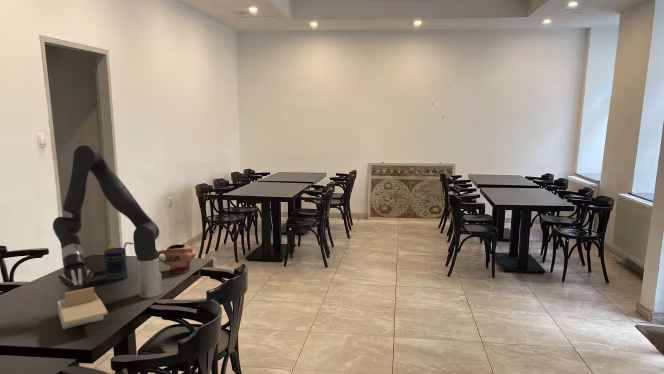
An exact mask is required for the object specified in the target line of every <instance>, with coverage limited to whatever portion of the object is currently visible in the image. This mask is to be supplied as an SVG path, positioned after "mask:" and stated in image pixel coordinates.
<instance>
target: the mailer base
mask: <svg viewBox="0 0 664 374" xmlns="http://www.w3.org/2000/svg"><path fill="white" fill-rule="evenodd" d="M94 294H95V300H96V299H100V298H99V297H98V296H99V295H97V293H96V292H94ZM64 306H66V301H65V299H63V300H62V299H61V300H57V309H58V310H57V311H58V312H57V313H58V318H59V321H60V324H61V327H62V330H66V329H71V328H74V327H75V328H76V327H78V326H83V325H87V324H91V323H96V322H100V321H103V320H105V318H104V315H101V316H97V317H93V318H89V319H84V320H80V321H76V322H72V323H68V324H65V323H64V320H63V317H62V314H61V310H60V307H64Z"/></svg>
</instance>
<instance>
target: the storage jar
mask: <svg viewBox="0 0 664 374" xmlns="http://www.w3.org/2000/svg"><path fill="white" fill-rule="evenodd" d="M125 249H126V247H125V248H124V247H116V248H112V249H105V250H104V251H103V253H104V256H103V258H104V263H105V271H104V272H105V278H106V282H108V283H118V281H119V282H122V281H125V280H127V279H128V267H127V262H126V261H127V253H126V252H125Z"/></svg>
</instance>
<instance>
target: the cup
mask: <svg viewBox="0 0 664 374" xmlns="http://www.w3.org/2000/svg"><path fill="white" fill-rule="evenodd" d="M127 245H134V242H128V241H126V242H125V243H124V246H123V248H125V252H126V247H127ZM112 248H117V247H116V245H115V244H114V243H110V244H108V245H107V249H106V250H108V249H112Z"/></svg>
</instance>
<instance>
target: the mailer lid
mask: <svg viewBox="0 0 664 374" xmlns="http://www.w3.org/2000/svg"><path fill="white" fill-rule="evenodd" d="M94 293H95V287H94V286H92V287H86V288H83V289H81V290H76V291H75V290H71V291H68V292H67V291H65V292H64V300H65V301H66V306H64V307H60V310H61V314H62V317H63V320H64V323H65V324H68V323H72V322H76V321H80V320H84V319H89V318H93V317H97V316H101V315H103V316H104V315H105V316H106V315H108V314H109V313H108V312H109V311H108V310H107V308H106V306H105V305H104V303H103V301H102V299H101V298H99V299H96V300H95V294H94Z"/></svg>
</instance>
